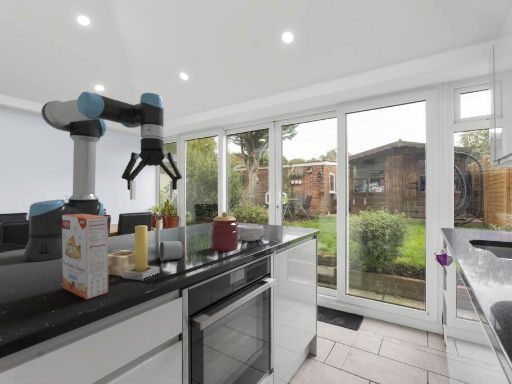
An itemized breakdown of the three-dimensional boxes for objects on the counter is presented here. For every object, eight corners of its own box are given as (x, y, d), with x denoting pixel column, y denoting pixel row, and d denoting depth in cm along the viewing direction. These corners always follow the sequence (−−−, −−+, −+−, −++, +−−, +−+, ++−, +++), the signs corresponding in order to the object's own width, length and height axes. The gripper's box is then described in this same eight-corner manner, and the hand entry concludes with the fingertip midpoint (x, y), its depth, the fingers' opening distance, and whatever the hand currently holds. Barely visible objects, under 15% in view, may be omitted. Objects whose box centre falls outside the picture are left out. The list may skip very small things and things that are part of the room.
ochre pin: (132, 276, 86) (132, 226, 86) (140, 273, 90) (140, 225, 90) (141, 277, 85) (142, 227, 85) (150, 274, 89) (150, 225, 89)
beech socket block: (102, 273, 89) (102, 255, 89) (123, 266, 98) (123, 249, 98) (124, 276, 87) (124, 257, 87) (143, 268, 95) (143, 251, 95)
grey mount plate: (121, 277, 85) (121, 271, 85) (139, 270, 93) (139, 264, 93) (142, 280, 83) (142, 273, 83) (159, 272, 90) (159, 266, 90)
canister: (236, 251, 122) (237, 213, 122) (208, 251, 122) (208, 212, 122) (239, 245, 135) (239, 210, 135) (213, 245, 135) (213, 210, 135)
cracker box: (60, 289, 75) (60, 214, 75) (84, 283, 80) (84, 213, 80) (84, 301, 67) (84, 217, 67) (109, 293, 72) (109, 215, 72)
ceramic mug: (184, 259, 107) (184, 240, 107) (163, 262, 103) (163, 242, 103) (176, 255, 116) (175, 237, 116) (156, 257, 112) (156, 239, 112)
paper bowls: (268, 240, 150) (268, 226, 150) (244, 243, 142) (244, 228, 142) (254, 236, 163) (254, 223, 163) (232, 238, 155) (232, 225, 155)
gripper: (110, 136, 90) (111, 199, 90) (185, 137, 91) (185, 199, 91) (121, 141, 98) (121, 199, 98) (190, 141, 99) (190, 198, 99)
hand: (152, 199), depth 94 cm, fingers open, 13 cm apart
